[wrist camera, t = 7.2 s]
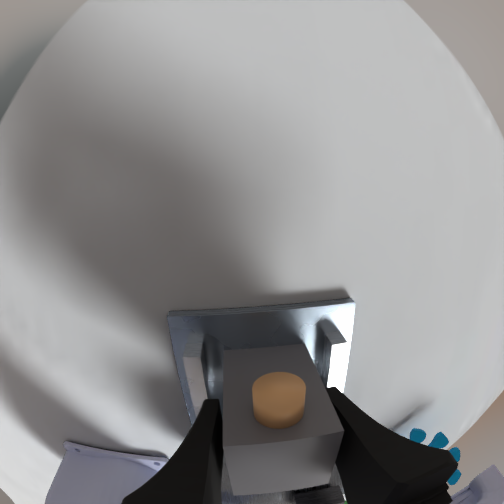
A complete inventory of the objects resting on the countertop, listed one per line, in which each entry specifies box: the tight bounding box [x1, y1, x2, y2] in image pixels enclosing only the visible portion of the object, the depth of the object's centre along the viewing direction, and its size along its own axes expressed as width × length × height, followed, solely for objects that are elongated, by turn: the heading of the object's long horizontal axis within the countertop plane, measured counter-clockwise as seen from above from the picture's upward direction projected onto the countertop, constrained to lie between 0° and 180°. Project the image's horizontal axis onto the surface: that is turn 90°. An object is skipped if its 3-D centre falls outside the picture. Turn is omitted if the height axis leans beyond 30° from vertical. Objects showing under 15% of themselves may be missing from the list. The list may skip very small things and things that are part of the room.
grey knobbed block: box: [223, 343, 344, 495], centre depth 11 cm, size 4×5×6 cm
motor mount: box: [167, 298, 355, 504], centre depth 12 cm, size 9×12×7 cm
